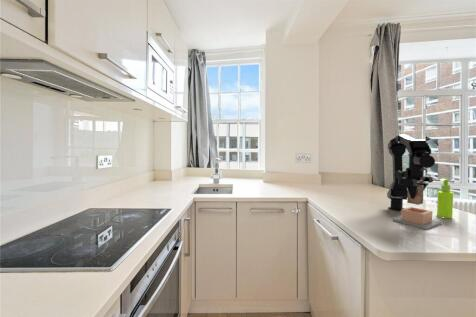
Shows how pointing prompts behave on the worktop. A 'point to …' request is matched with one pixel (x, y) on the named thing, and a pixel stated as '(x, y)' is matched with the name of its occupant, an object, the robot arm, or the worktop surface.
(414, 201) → the walnut block
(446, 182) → the soap dispenser
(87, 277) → the worktop surface
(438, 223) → the terracotta well
